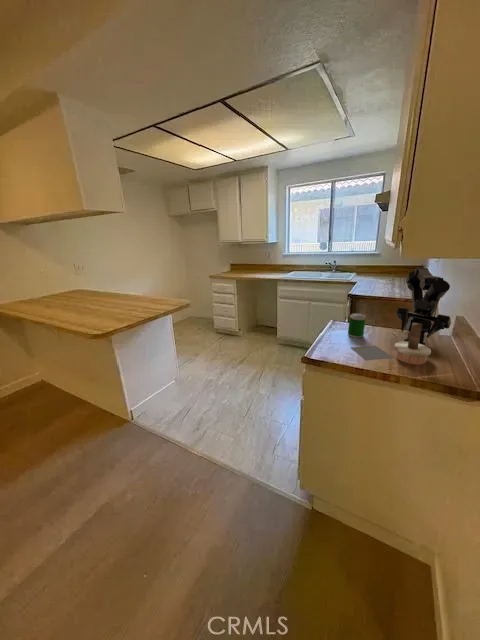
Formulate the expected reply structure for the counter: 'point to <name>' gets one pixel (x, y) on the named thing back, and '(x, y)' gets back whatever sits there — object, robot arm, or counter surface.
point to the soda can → (356, 325)
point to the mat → (371, 352)
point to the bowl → (410, 358)
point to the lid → (413, 343)
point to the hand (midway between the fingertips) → (414, 334)
